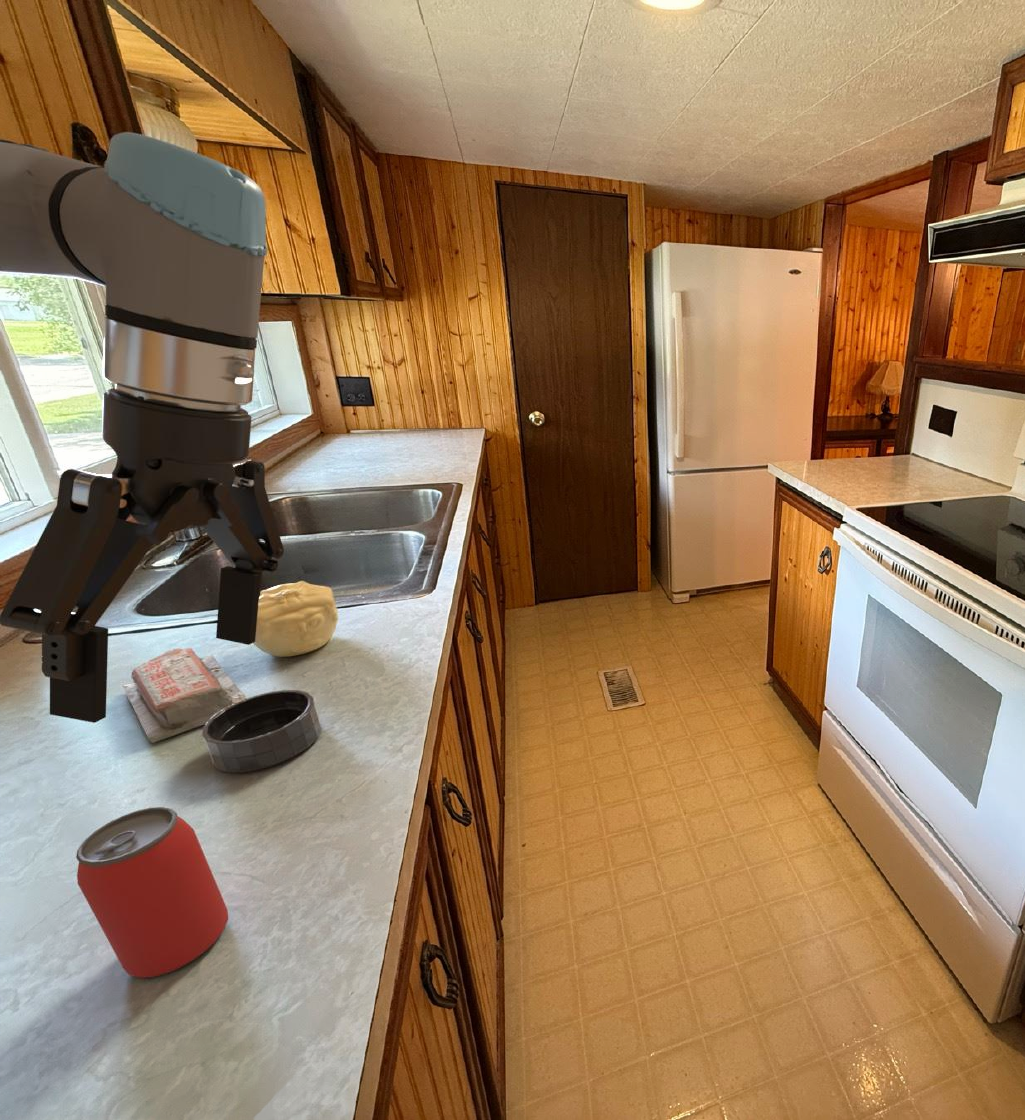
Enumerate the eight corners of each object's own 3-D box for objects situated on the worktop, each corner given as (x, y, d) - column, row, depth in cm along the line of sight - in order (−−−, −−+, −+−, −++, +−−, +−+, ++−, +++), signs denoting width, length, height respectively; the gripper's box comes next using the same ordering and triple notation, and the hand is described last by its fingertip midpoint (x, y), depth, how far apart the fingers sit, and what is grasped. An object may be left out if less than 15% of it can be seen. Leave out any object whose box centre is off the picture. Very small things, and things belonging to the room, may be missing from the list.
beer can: (106, 964, 48) (45, 853, 44) (200, 897, 54) (154, 792, 50) (156, 995, 46) (97, 881, 42) (248, 922, 52) (205, 814, 48)
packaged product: (241, 678, 78) (137, 713, 71) (252, 709, 80) (151, 747, 73) (205, 635, 89) (111, 662, 82) (215, 663, 91) (124, 692, 83)
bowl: (189, 775, 68) (176, 743, 67) (260, 718, 78) (250, 689, 77) (282, 776, 68) (271, 744, 67) (341, 719, 78) (332, 690, 77)
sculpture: (267, 674, 88) (245, 608, 84) (246, 647, 95) (225, 584, 91) (354, 645, 96) (338, 584, 92) (329, 622, 103) (313, 564, 99)
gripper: (50, 412, 30) (48, 777, 35) (344, 411, 54) (320, 627, 59) (-120, 371, 29) (-98, 751, 34) (256, 389, 53) (239, 609, 58)
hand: (168, 673), depth 46 cm, fingers open, 13 cm apart
